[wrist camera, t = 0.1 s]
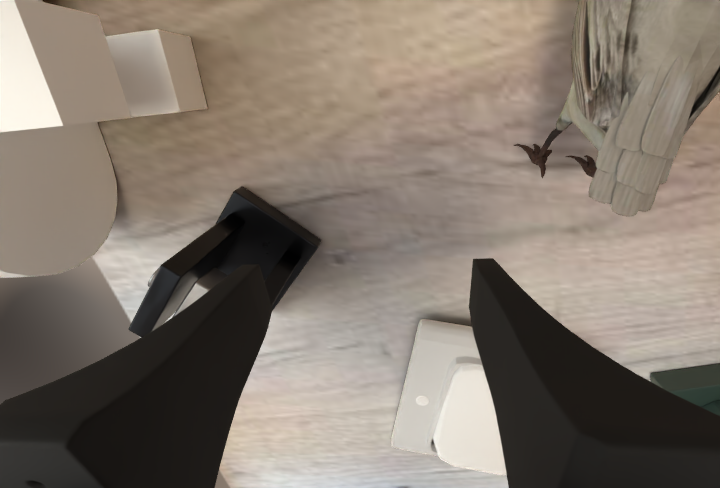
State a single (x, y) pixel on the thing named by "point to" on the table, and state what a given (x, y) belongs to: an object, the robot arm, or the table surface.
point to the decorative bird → (637, 91)
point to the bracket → (230, 257)
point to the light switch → (448, 401)
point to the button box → (693, 385)
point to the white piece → (73, 125)
